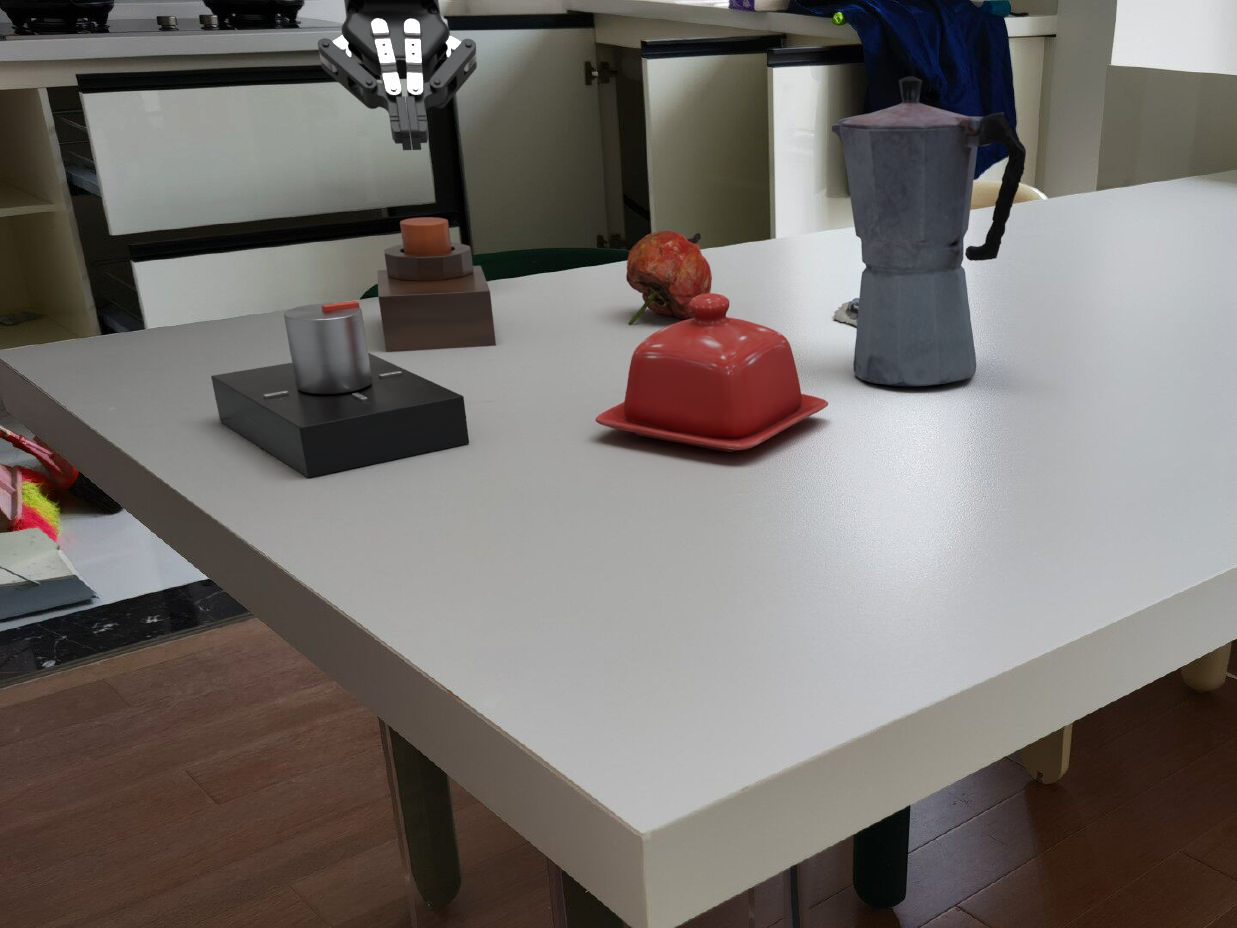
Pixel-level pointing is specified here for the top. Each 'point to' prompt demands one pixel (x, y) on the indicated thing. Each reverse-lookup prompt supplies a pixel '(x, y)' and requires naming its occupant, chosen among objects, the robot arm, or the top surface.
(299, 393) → the panel
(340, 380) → the hob knob
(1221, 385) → the top surface
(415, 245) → the button
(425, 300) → the control block
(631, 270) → the pomegranate
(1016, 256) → the top surface
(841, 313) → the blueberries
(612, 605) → the top surface
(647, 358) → the butter dish
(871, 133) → the moka pot
